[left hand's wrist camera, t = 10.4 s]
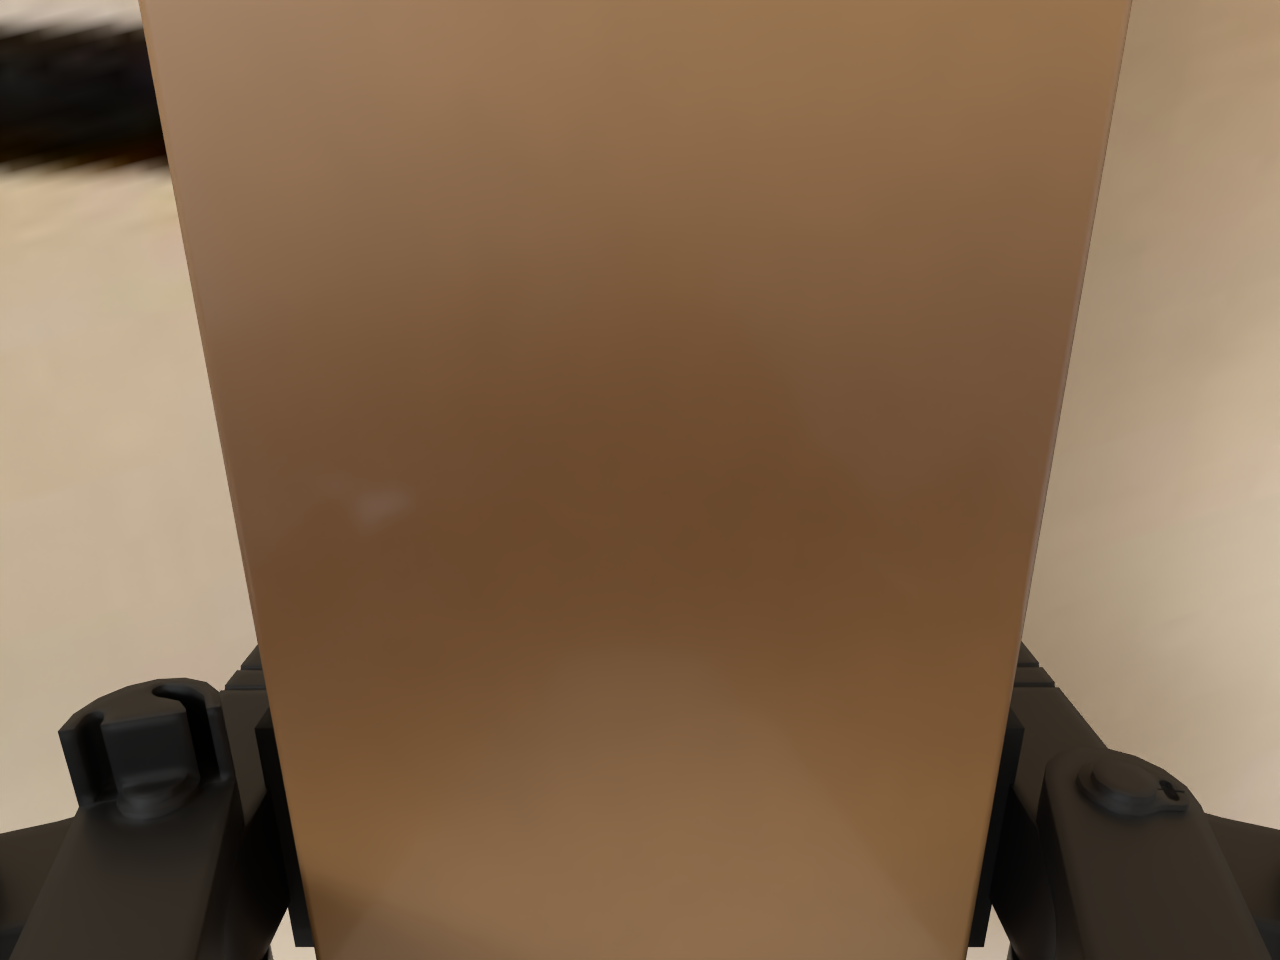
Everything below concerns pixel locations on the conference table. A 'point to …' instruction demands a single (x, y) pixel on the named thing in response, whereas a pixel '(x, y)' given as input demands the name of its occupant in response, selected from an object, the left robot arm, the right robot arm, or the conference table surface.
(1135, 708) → the conference table surface
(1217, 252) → the conference table surface
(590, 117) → the beam
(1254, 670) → the conference table surface
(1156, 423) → the conference table surface
